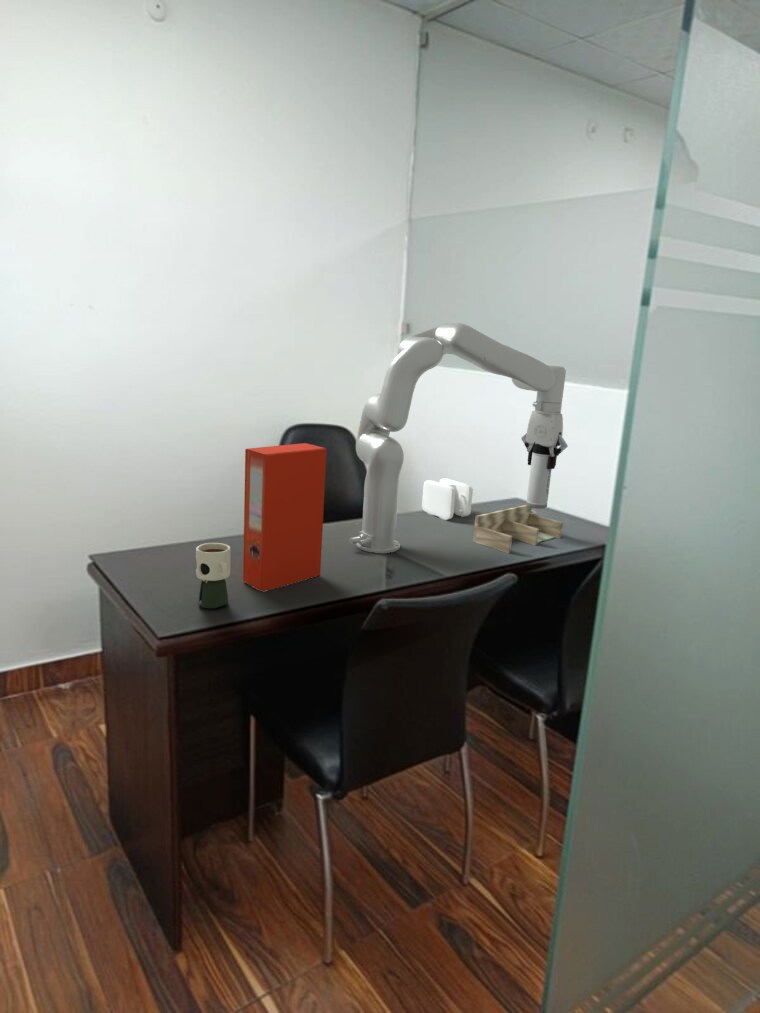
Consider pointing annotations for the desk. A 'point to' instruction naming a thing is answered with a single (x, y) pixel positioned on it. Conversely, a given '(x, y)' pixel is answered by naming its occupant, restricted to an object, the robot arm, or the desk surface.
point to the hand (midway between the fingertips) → (541, 466)
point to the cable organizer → (447, 498)
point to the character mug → (213, 573)
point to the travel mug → (539, 478)
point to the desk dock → (514, 528)
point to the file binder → (283, 514)
